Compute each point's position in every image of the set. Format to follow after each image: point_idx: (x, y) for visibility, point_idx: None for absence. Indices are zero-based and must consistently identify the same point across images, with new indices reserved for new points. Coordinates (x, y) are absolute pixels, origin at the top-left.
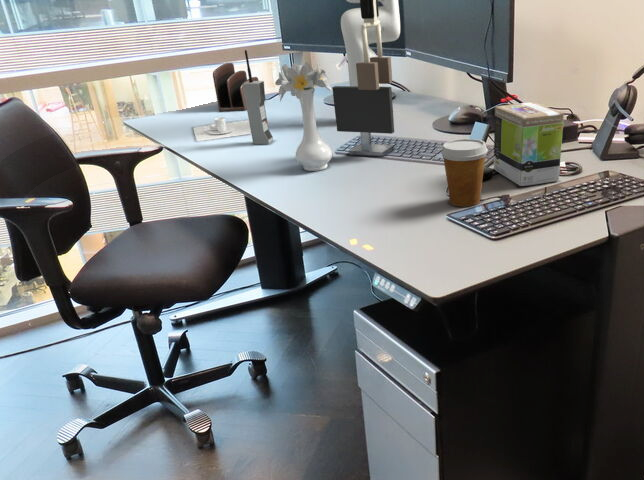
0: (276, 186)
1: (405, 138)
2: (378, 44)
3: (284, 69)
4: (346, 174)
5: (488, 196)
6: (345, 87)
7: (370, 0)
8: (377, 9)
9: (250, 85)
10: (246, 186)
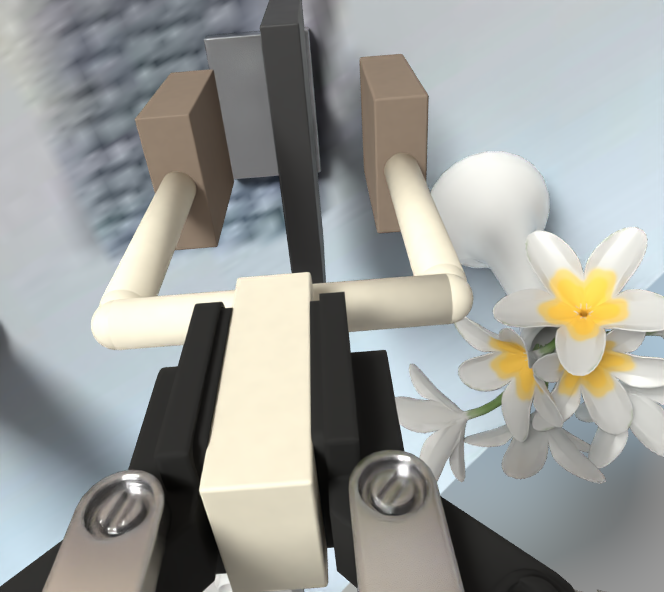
0: (658, 200)
1: (44, 70)
2: (180, 224)
3: (591, 465)
4: (534, 49)
5: None
6: (322, 275)
7: (357, 447)
8: (210, 346)
9: (295, 589)
10: (655, 274)
